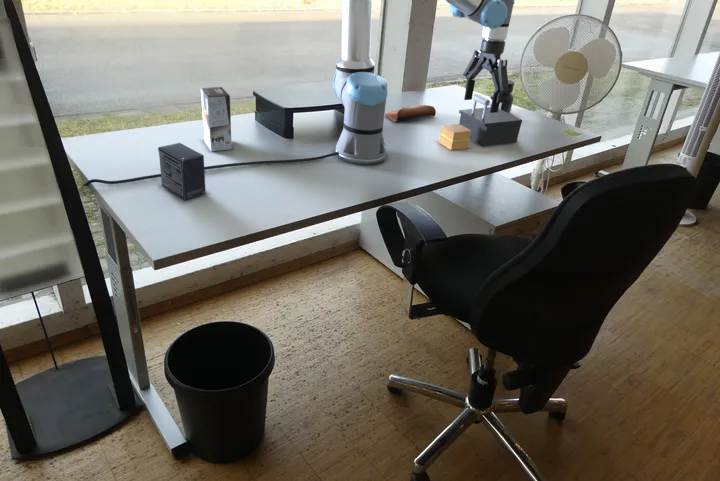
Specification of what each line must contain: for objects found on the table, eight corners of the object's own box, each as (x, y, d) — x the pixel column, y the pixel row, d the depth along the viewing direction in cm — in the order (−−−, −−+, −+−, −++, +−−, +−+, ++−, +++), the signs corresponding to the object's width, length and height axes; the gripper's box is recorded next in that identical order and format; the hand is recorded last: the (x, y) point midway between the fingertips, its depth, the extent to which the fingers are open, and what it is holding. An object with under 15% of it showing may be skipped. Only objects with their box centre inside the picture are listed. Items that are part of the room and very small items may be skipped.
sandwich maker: (482, 146, 183) (487, 126, 179) (457, 132, 193) (461, 112, 189) (516, 142, 189) (521, 122, 186) (490, 128, 200) (494, 109, 196)
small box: (207, 194, 136) (205, 154, 131) (184, 201, 132) (181, 161, 127) (183, 179, 142) (180, 141, 137) (160, 186, 138) (156, 146, 132)
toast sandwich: (451, 150, 177) (454, 132, 174) (438, 142, 182) (441, 125, 179) (468, 148, 180) (471, 130, 177) (455, 140, 185) (458, 123, 182)
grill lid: (484, 126, 179) (489, 104, 175) (458, 112, 189) (462, 91, 185) (521, 122, 186) (527, 100, 182) (494, 109, 196) (499, 88, 192)
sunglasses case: (421, 109, 210) (429, 97, 205) (430, 123, 208) (438, 111, 202) (383, 114, 201) (390, 101, 195) (392, 129, 198) (399, 117, 193)
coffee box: (232, 149, 162) (230, 95, 153) (210, 151, 159) (207, 96, 151) (224, 138, 169) (222, 86, 160) (203, 140, 166) (199, 87, 157)
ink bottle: (483, 107, 221) (490, 77, 215) (504, 108, 223) (510, 78, 217) (492, 115, 213) (499, 84, 207) (513, 116, 215) (521, 85, 209)
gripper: (530, 48, 164) (514, 117, 175) (478, 30, 182) (466, 93, 193) (511, 48, 161) (496, 119, 172) (460, 30, 179) (449, 95, 190)
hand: (480, 105), depth 182 cm, fingers open, 13 cm apart
